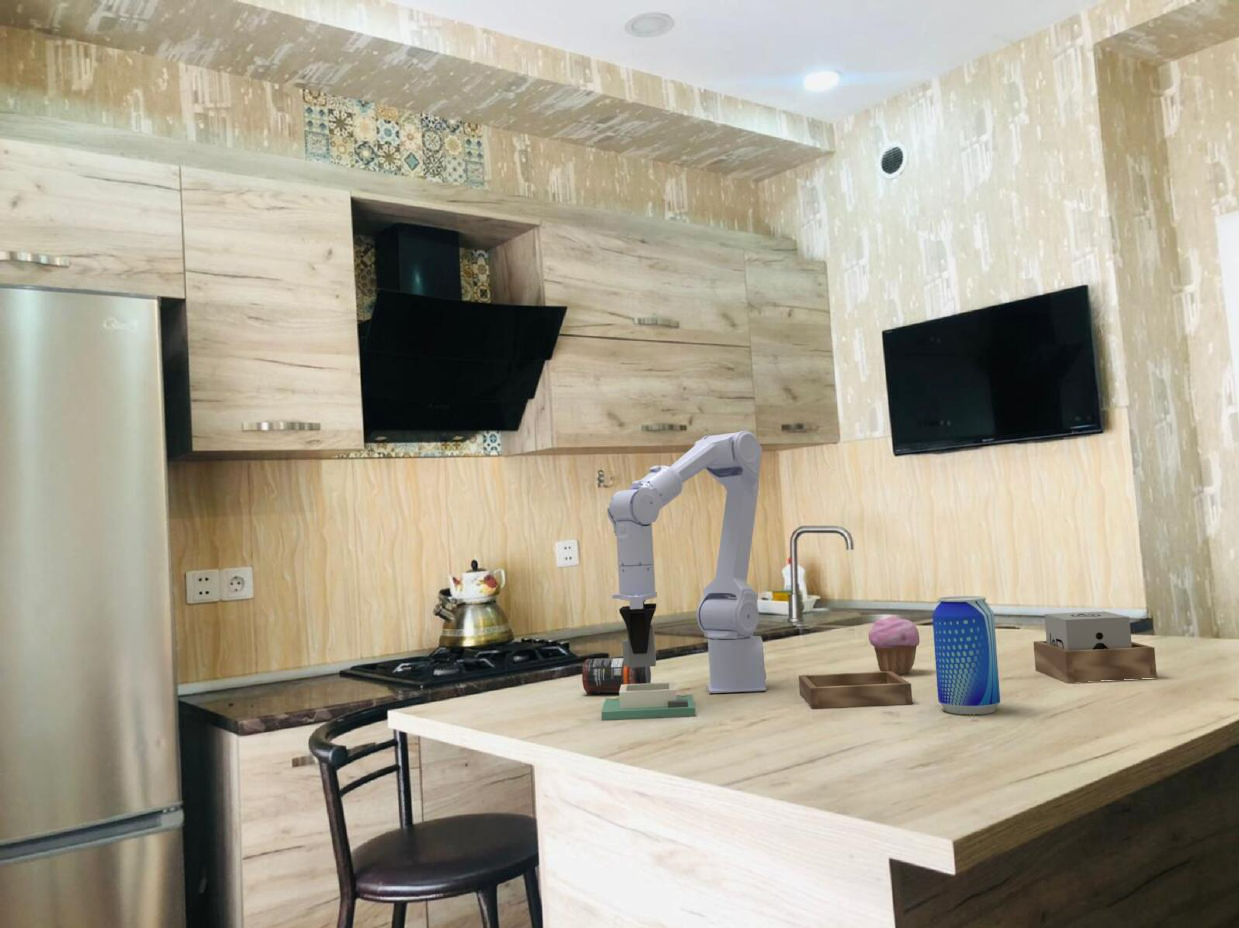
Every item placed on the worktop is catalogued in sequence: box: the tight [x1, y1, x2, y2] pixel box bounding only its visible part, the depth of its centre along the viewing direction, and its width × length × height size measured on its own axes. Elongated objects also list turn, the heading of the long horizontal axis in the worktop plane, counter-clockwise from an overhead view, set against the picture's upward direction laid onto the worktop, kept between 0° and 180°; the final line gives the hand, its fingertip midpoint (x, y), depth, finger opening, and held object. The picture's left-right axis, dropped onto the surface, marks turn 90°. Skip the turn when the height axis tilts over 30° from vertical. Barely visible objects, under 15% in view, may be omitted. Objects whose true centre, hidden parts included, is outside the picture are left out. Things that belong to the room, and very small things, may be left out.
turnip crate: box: [798, 671, 913, 709], centre depth 159 cm, size 15×13×3 cm
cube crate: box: [1033, 640, 1158, 684], centre depth 169 cm, size 14×14×5 cm
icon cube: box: [1044, 610, 1132, 651], centre depth 169 cm, size 10×10×10 cm
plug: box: [621, 624, 657, 668], centre depth 160 cm, size 5×4×6 cm
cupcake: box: [868, 616, 920, 676], centre depth 182 cm, size 9×9×10 cm
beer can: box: [931, 595, 1001, 716], centre depth 146 cm, size 8×8×16 cm
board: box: [600, 693, 696, 721], centre depth 158 cm, size 14×12×2 cm
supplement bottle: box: [581, 657, 652, 694], centre depth 176 cm, size 6×6×11 cm
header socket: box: [618, 681, 677, 709], centre depth 158 cm, size 9×8×2 cm
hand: (640, 651), depth 160 cm, fingers closed on plug, 4 cm apart
